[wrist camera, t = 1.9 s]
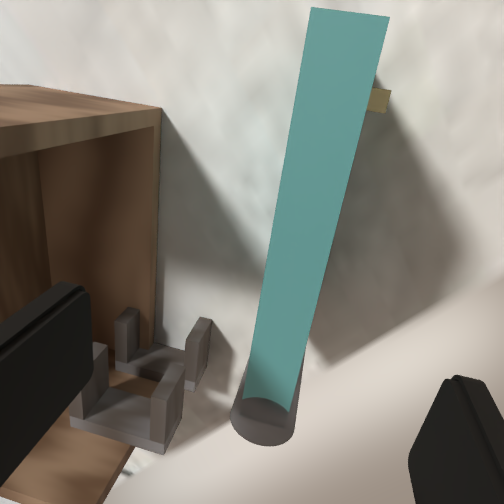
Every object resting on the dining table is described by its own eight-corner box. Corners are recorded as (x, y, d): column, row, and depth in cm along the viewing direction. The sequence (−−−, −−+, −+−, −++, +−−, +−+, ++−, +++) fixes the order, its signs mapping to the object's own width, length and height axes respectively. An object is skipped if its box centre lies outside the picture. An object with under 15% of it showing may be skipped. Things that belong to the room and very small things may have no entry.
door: (383, 56, 20) (431, 22, 9) (317, 310, 27) (301, 457, 16) (320, 47, 20) (295, 4, 10) (271, 299, 27) (226, 435, 17)
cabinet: (234, 120, 23) (124, 155, 11) (205, 375, 32) (127, 540, 20) (28, 84, 25) (-247, 82, 13) (55, 333, 34) (-94, 463, 22)
